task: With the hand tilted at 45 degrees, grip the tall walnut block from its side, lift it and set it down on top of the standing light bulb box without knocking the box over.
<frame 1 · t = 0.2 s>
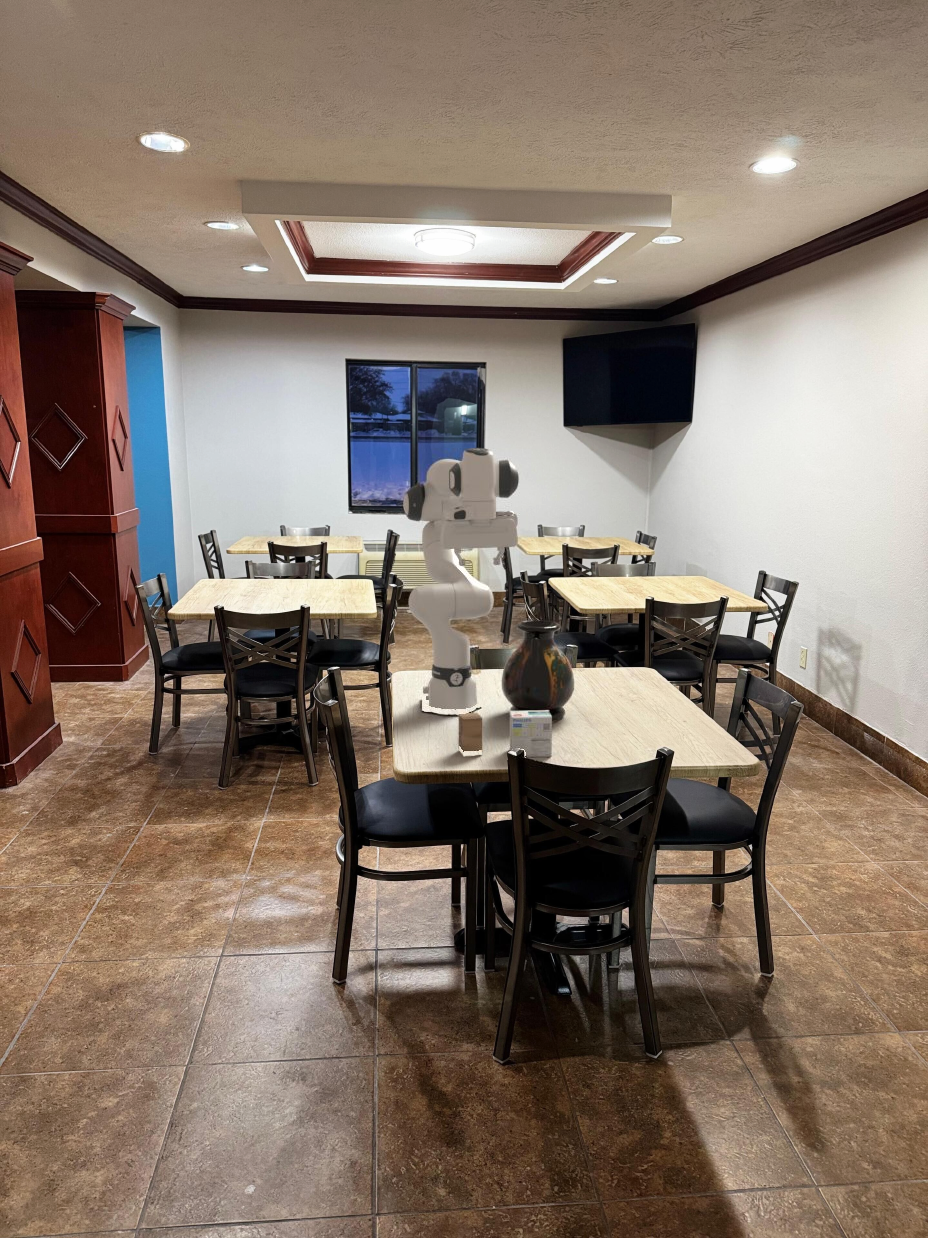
hand: (479, 565, 220), 48 cm above the table, tool pointing down, fingers open, 8 cm apart
dark painted vase: (537, 716, 252), on the table
walnut block: (470, 753, 219), on the table
light bulb box: (530, 754, 219), on the table
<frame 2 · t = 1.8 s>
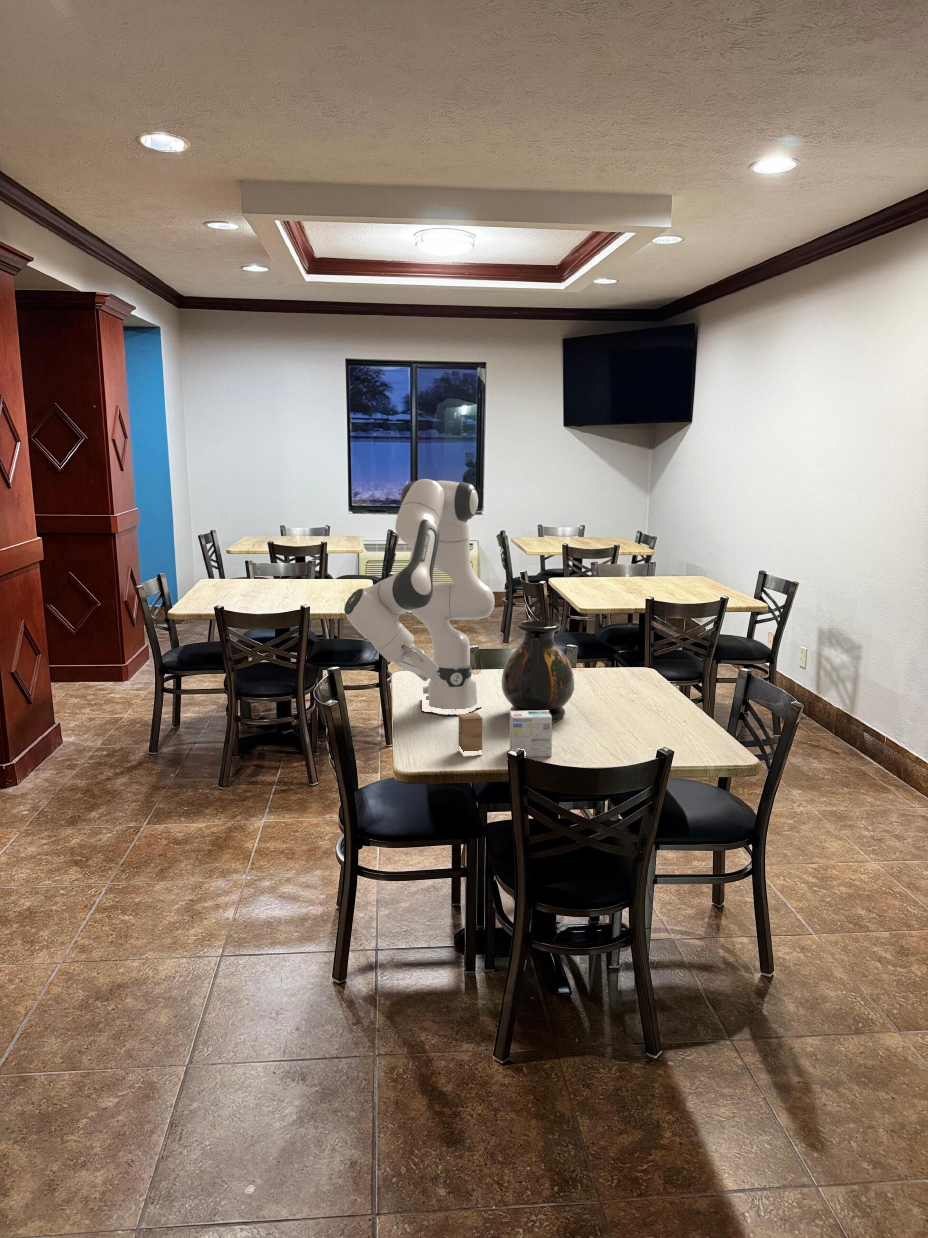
hand: (433, 681, 212), 20 cm above the table, tool tilted 45°, fingers open, 8 cm apart
nothing on the table moved.
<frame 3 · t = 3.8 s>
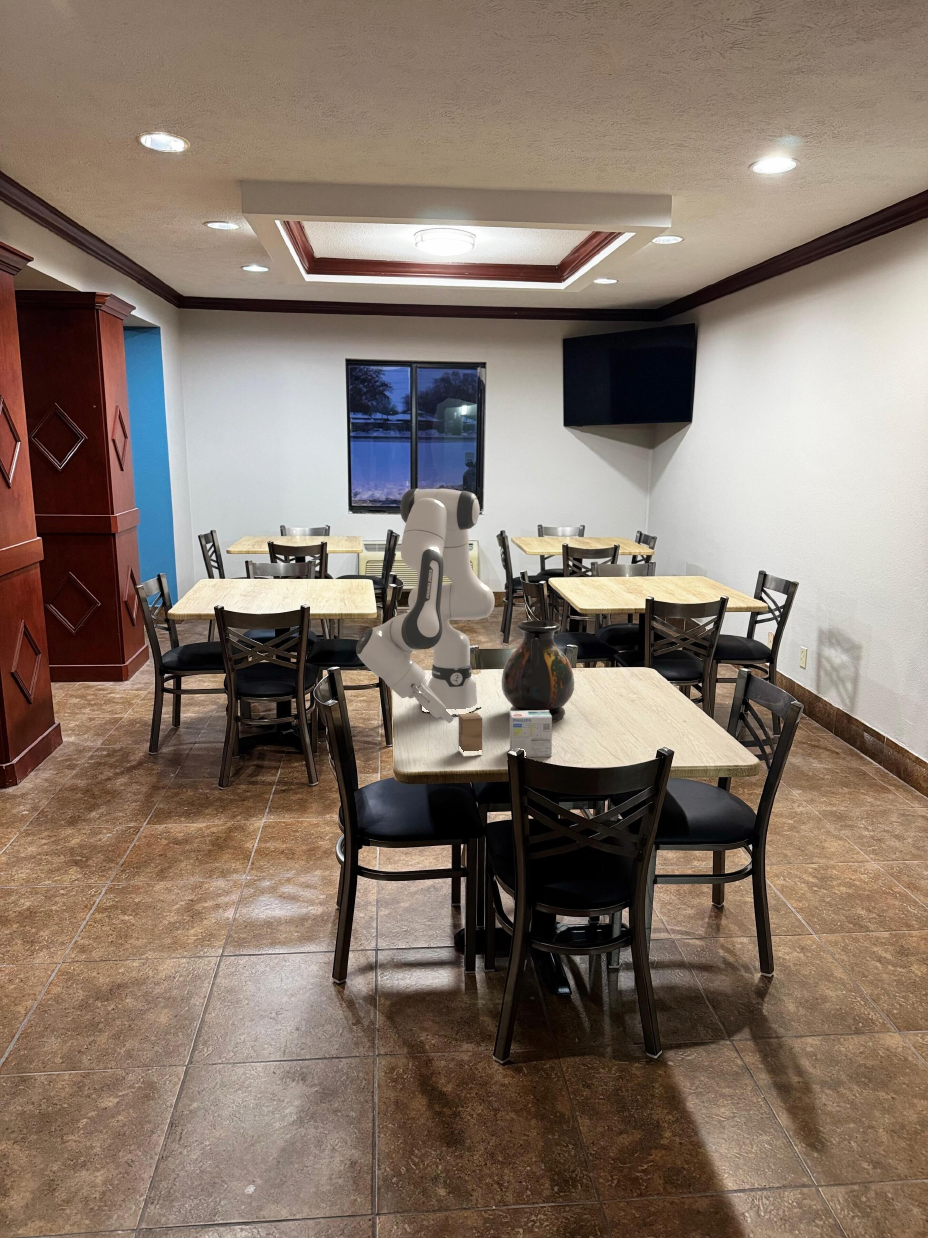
hand: (446, 715, 215), 11 cm above the table, tool tilted 45°, fingers open, 8 cm apart
nothing on the table moved.
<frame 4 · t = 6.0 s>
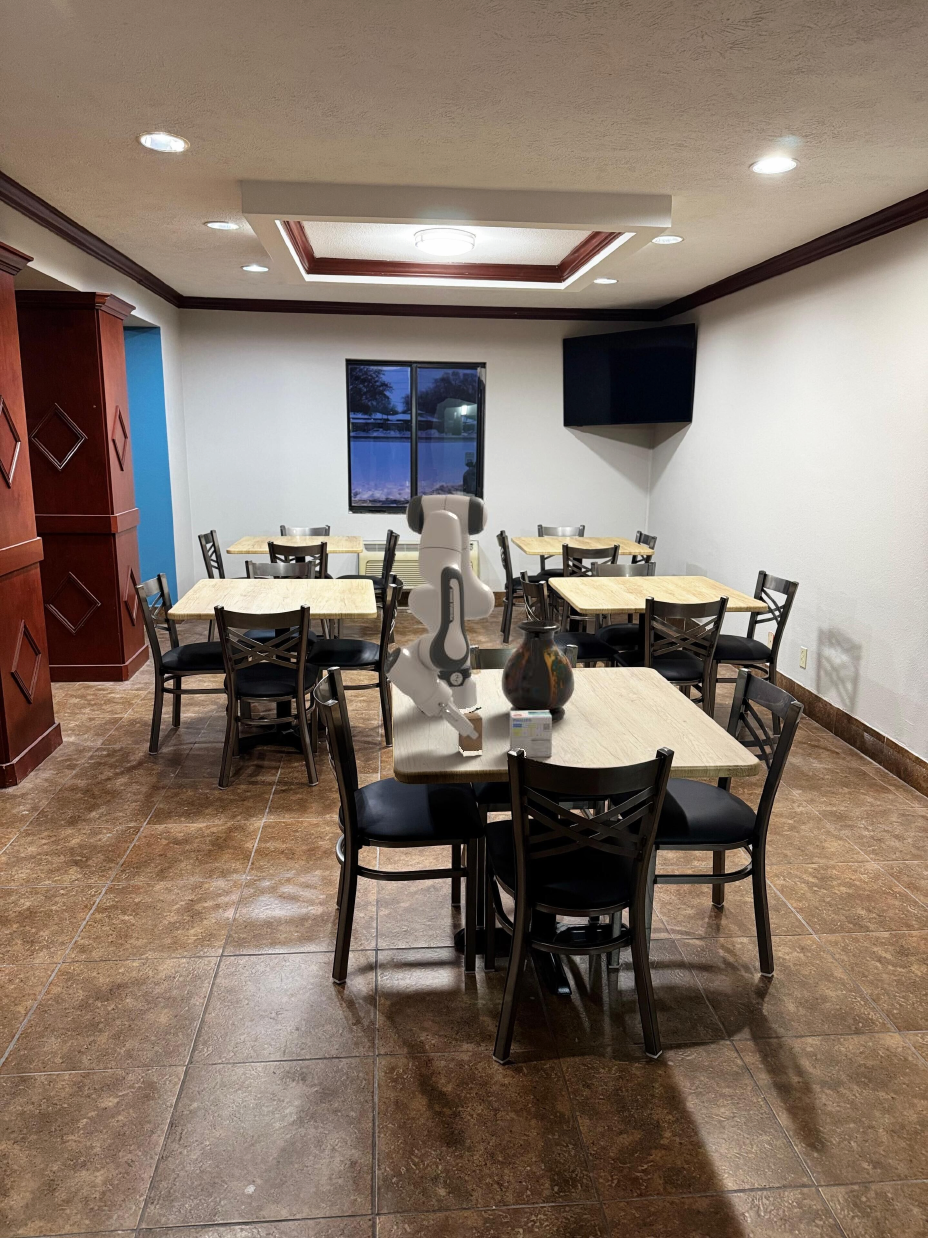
hand: (472, 732, 218), 5 cm above the table, tool tilted 45°, fingers closed on walnut block, 5 cm apart
walnut block: (470, 753, 219), on the table, touching gripper
everything else where it was.
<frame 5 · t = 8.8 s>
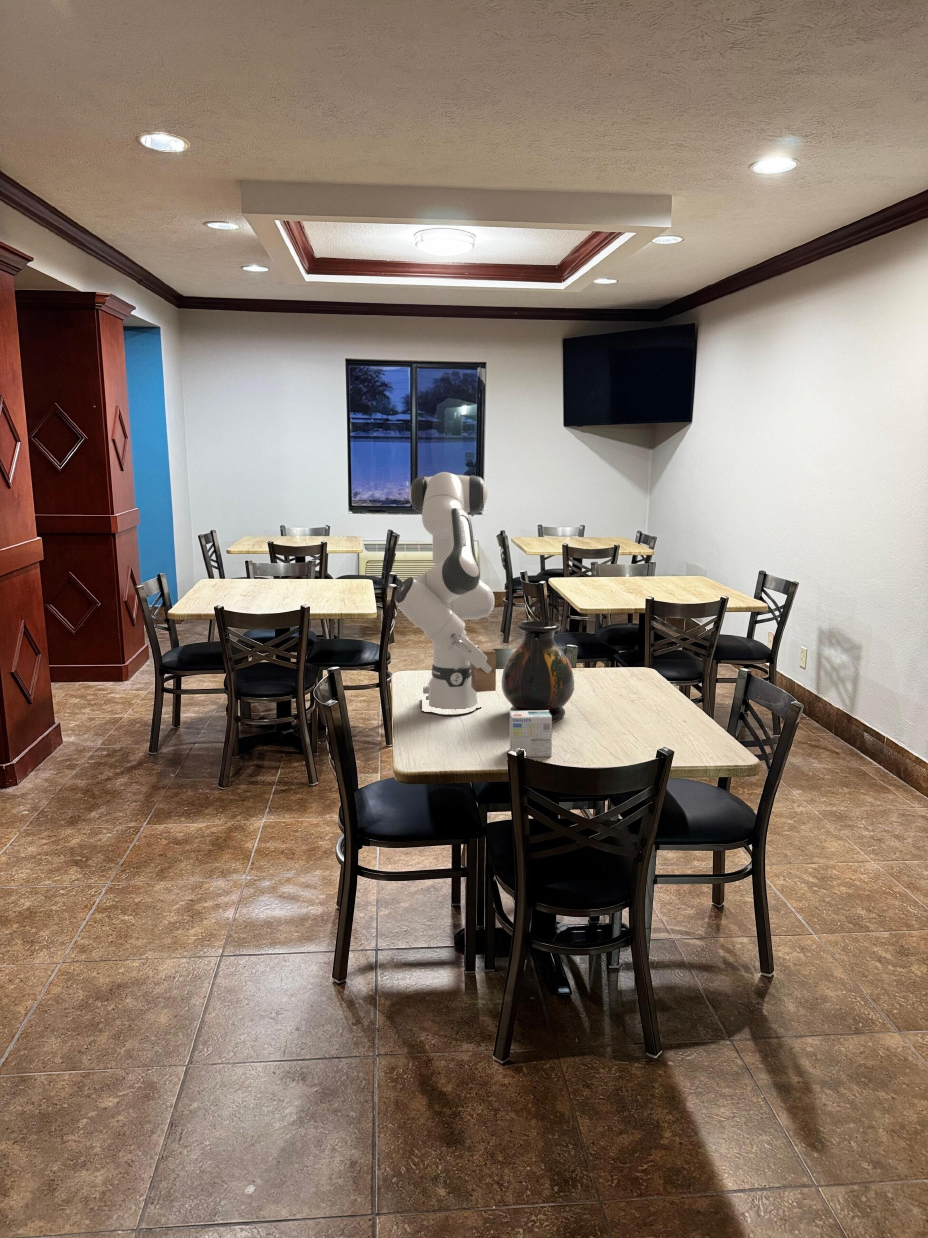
hand: (485, 667, 212), 23 cm above the table, tool tilted 45°, fingers closed on walnut block, 5 cm apart
walnut block: (483, 689, 213), point 18 cm above the table, touching gripper
everything else where it was.
when the fingers open (18 cm above the table, at t = 11.5 s): walnut block drops 2 cm, resting on light bulb box.
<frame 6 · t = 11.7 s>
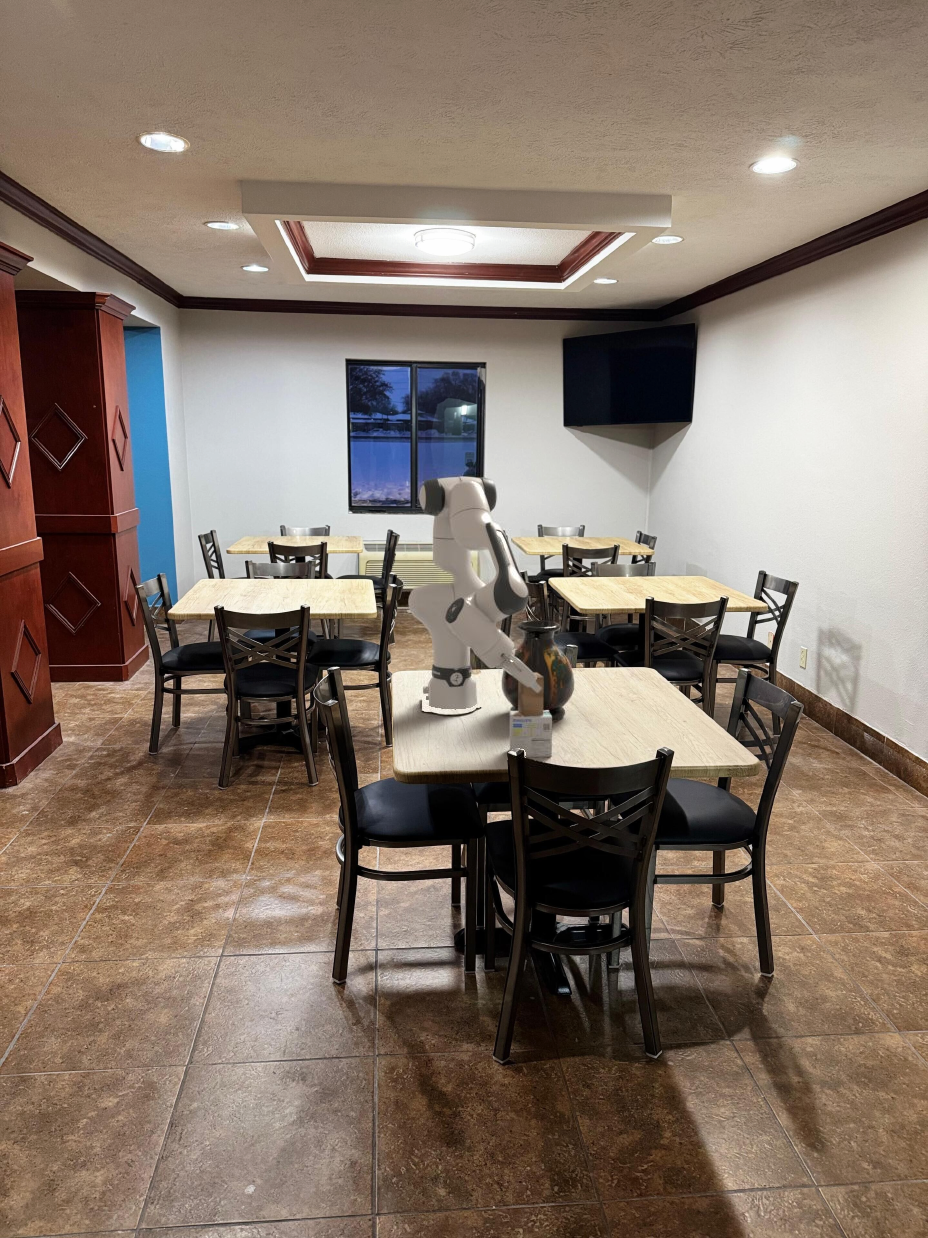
hand: (533, 686, 216), 18 cm above the table, tool tilted 45°, fingers open, 7 cm apart
walnut block: (530, 713, 217), point 11 cm above the table, touching light bulb box
light bulb box: (530, 754, 219), on the table, touching walnut block
everything else where it was.
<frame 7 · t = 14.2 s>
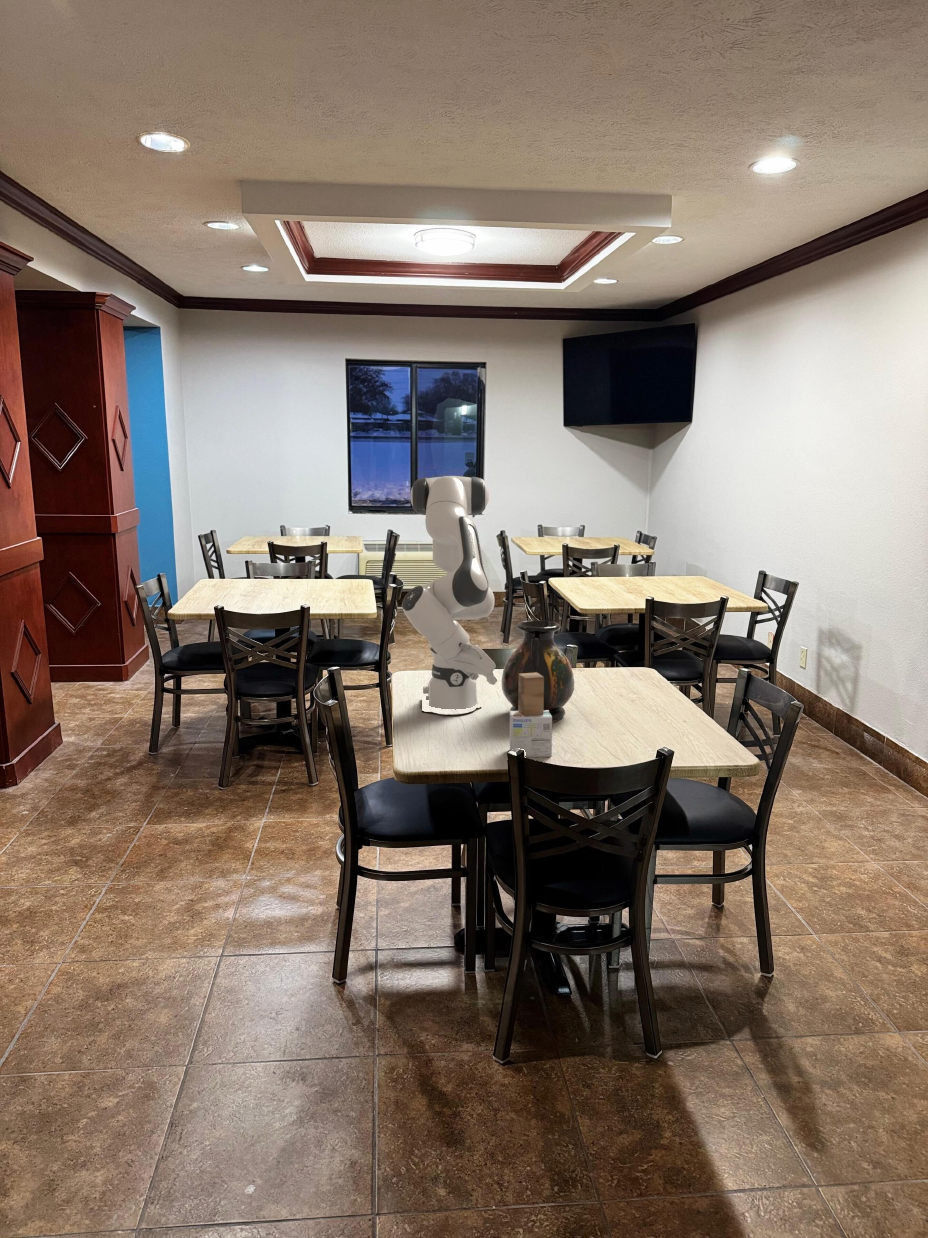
hand: (484, 680, 213), 20 cm above the table, tool tilted 40°, fingers open, 8 cm apart
nothing on the table moved.
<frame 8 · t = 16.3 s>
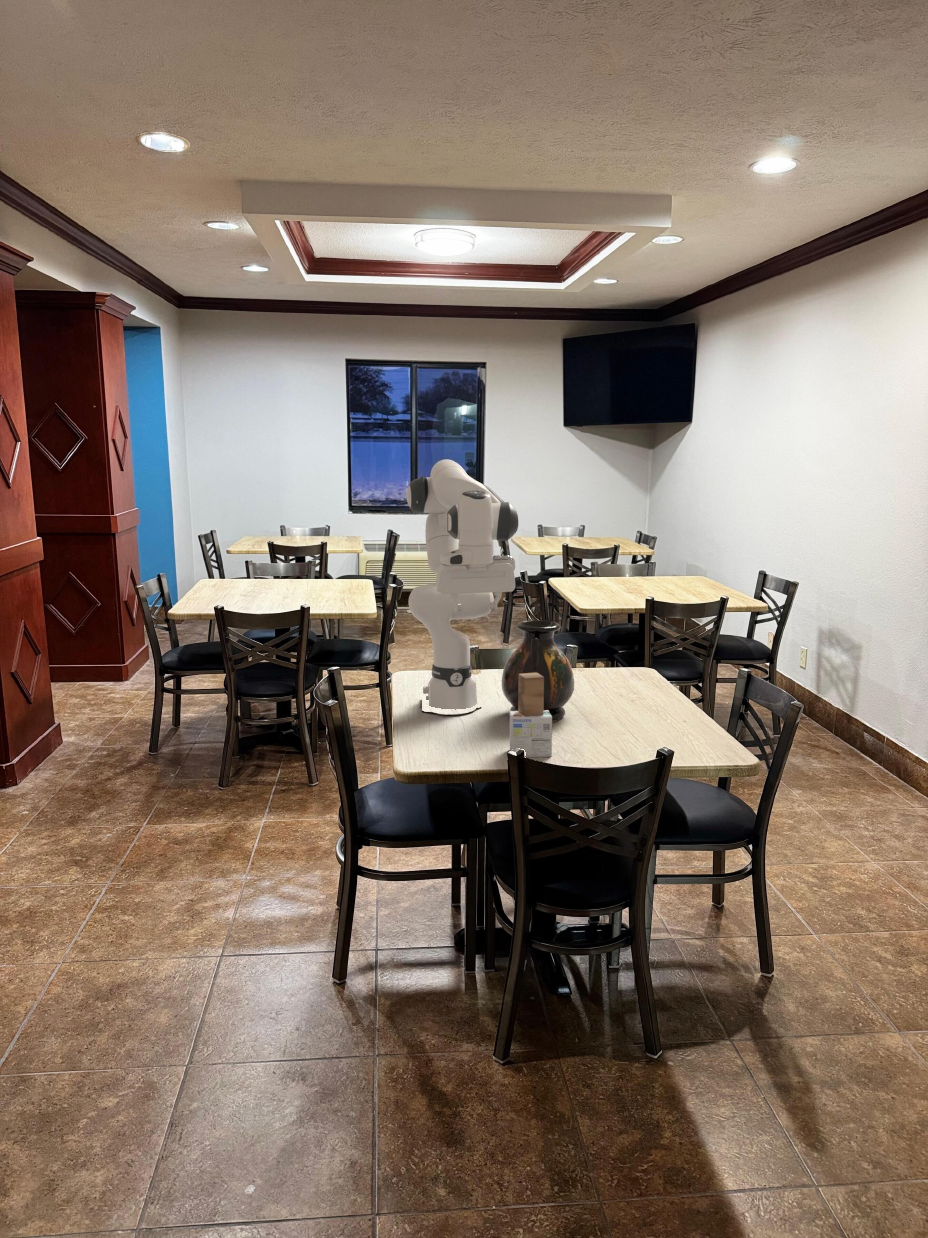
hand: (475, 610, 215), 37 cm above the table, tool pointing down, fingers open, 8 cm apart
nothing on the table moved.
at the end: walnut block inside the target area on the light bulb box (0.1 cm from its centre), point 11.0 cm above the light bulb box's base; walnut block tilted 0°; light bulb box tilted 0° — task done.
